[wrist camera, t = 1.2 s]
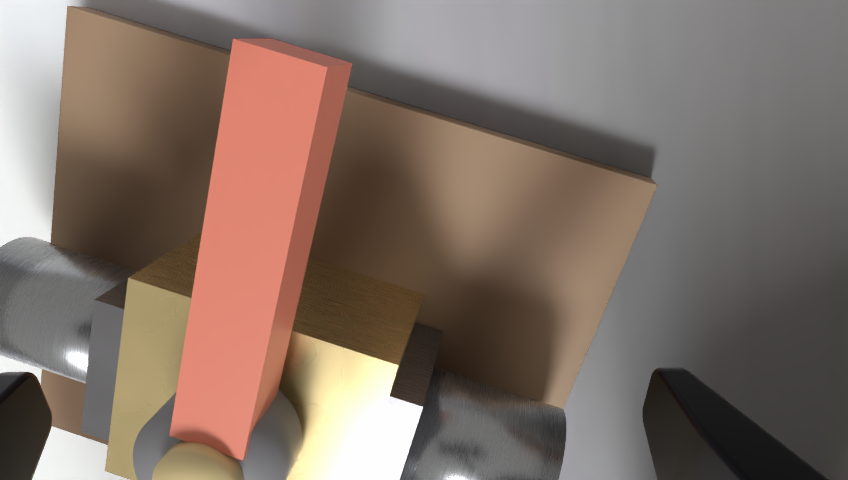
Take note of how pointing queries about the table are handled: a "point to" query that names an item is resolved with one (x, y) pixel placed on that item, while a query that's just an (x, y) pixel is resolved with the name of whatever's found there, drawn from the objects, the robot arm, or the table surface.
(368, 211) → the board
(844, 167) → the table surface
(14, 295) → the valve
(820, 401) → the table surface
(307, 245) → the lever
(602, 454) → the table surface
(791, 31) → the table surface
